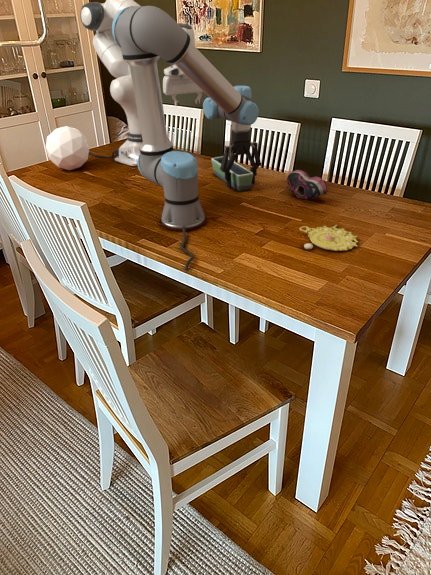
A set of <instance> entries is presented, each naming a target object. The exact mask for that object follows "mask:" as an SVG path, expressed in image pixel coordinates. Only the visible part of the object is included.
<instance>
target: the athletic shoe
mask: <svg viewBox="0 0 431 575" xmlns="http://www.w3.org/2000/svg"><path fill="white" fill-rule="evenodd" d="M286 184H287V186H288V187H285V186H284V189H286V190H290V191H291V193H292V194H293V195H295V196H296V198H298V199H300V200H306V201H310V200H313V199H316V198H318V197H321V196H324V195H328V185H327V183H326V181H325V180H324V179H323V178H322V177H320V176H312V177H311V176H309V174H308V172H306V171H305V170H302V169H294V170H293V171H291V172H290V173H289V174H288V175H287V177H286Z"/></svg>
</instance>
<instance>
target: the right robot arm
mask: <svg viewBox="0 0 431 575" xmlns="http://www.w3.org/2000/svg"><path fill="white" fill-rule="evenodd" d="M112 33H113V37H114V40H115V42H116V43H117V44H118V46H119V47H121V50H122V56H123V60H124V61H125V62H126V63H127V64H128V65H129V67H130V72H131V78H132V83H133V89H134V95H135V100H136V106H137V112H138V117H139V123H140V129H141V134H142V140H143V143H142V144H141V146H140V155H139V156H138V160H137V165H136V166H137V169H138V171H139V173H140V175H141V176H142V177H143V178H144V179H146V180H147V181H149V182H150V183H153V184H155V185H158V186H159V187H160V188H162V189H163V194H164V204H163V209H162V213H161V219H160V220H161V225H162V227H163V228H165V229H167V230H170V231H175V232H176V231H177V232H182V237H183V240H182V242H181V244H180V249H181V251H182V252H184V253H185V254H187V255H189V256H190V258H188V260H187V261H186V263H185V266H184V271H185V272H188V271H189V265H190V263H191V262H192V261H193V260H194V258H195V255H194V254H193V252H191V251H189V250H187V249H186V248H185V247H184V246H185V244H186V242H187V235H186V234H187V233H186V232H187V231H192V230H195V229H198V228H201V227H202V226H203V225H204V224H205V223H206V215H205V212H204V210H203V208H202V204H201V202H200V196H199V175H198V172H199V167H198V162H197V159H196V157H195V156H194V155H193V154H192V153H189V152H187V151H181V150H175V149H174V143H173V142H172V141H171V140H170V139H169V137H168V131H167V126H166V118H165V111H164V105H163V104H164V103H163V98H162V97H163V96H162V89H161V82H160V76H159V69H158V61H159V60H160V59H161V58H160V57H162V58H163V59H162V60H164V61H165V62H166V63H168V65H174V64H175V65H176V66H177V67H178V68H179V69H180V70H181V71H182V72H183V73H184V74H186V75H187V76H188V77H189V78H190V79H191V80H192V81H193V82H194V83H195V84H196V85H197V86H198V87H199V88H200V89H201V90H202V91H204V92H203V93H204V94H206V95H207V97H205V99H204V100H203V103H202V110H203V111H202V112H203V114H204V117H205V118H206V119H208V120H218V119H221V120H225V121H228V122H230V128H231V131H230V136H231V137H230V140H231V143H230V145H224V146H223V155H222V156H223V159H222V163H221V167H220V170H221V171H222V172H225V180H226V181H227V183H226V188H227V189H229V190H231V189H232V186H231V173H230V170H231V167H232V165H233V163H234V162H236V160H237V158H238V156H241V155H245V156H246V158H247V159H248V161H249V164H250V165H251V166H250V168H249V171H251V172H252V173H253V178H252V182H251V185H254V186H255V184H256V176H257V175H258V172H257V170H258V169H259V167H261V166H262V161H261V157H260V154H259V148H258V146H259V145H258V144H259V143H258V142H256V141H254V140H253V141H251V138H252V135H251V134H252V131H251V129H252V125H253V124H255V123H256V121H257V119H258V118H259V114H260V113H259V112H260V110H259V106H258V105H257V104H256V103H255V102H253V101H252V100H253V99H252V88H251V87H250V86H248V85H234V86H233V85H232V84H231V83H230V81H229V80H228V79H226V77H225V76H224V75H223V74H222V73H221V72H220V71H219V70H218V69H217V67H216V66H214V65H213V64H212V63H211V62H210V61H209V60H208V59H207V58H206V56H204V54H202V52H201V51H200V50H199V49H198V48H197V47H196V45H195V46H194V45H193V44H192V43H191V37H190V36H189V35H188V34H187V33H186V31H185V30H184V29H183V28H182V27H181V26H180V25H179V24H178V22H177V21H176V20H175V19H174V18H173V17H172V16H170V15H169V14H168V13H167V12H166V11H165V10H163V9H162V8H159V7H157V6H154V5H143V6H142V5H140V6H130V7H127V8H124V9H122V10H120V11H119V12H118V13H117V14H116V16H115V18H114V20H113V24H112ZM159 82H160V83H159ZM250 148H252V149H251V150H252V152H251V151H250ZM231 150H232V151H231ZM252 154H253V156H252ZM228 158H229V161H228ZM227 162H228V163H227Z"/></svg>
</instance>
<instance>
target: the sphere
mask: <svg viewBox="0 0 431 575" xmlns="http://www.w3.org/2000/svg"><path fill="white" fill-rule="evenodd" d="M44 148H45V152H46V154H47V158H48V160H49V161H51V162H52V163H53V164H54V165H55V167H57V168H60V169H63V170H66V171H72V170H75V169H79V168H81V167H82V166H83V165H84V164H85V163H87V161H88V160H89V155H90V154H89V152H90V147H89V142H88V139H87V137H86V136H85V135H84V133H82V132H81V131H80V130H79V129H78V128H74V127H72V126H67V125H65V126H61V127H57V128H54V129H53V131H52V132H50V133H49V135H47V136H46V141H45V146H44Z"/></svg>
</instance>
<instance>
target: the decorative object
mask: <svg viewBox="0 0 431 575" xmlns="http://www.w3.org/2000/svg"><path fill="white" fill-rule="evenodd" d="M303 228H304V229H305V230H304V229H303ZM299 231H300V232H303V233H305V234H307V237H308V238H309V240H310V241H311V243H304V244H303V248H304V249H305V250H313V249H314V245H315V246H316V247H318V248H321V249H324V250H328V251H335V252H341V251H348V250H352V249H354V247H356V248H358V247H359V245H358V244H357V243H359V240H357V238H359V237H358V235H353V234H352V231H347V230H346V229H345V228H344V227H342V228H338V224H335V225H333V226H331V227H328V226H327V225H326V224H325V225H323V226H322V227H321V226H317V227H316V228H314V227H309V226H308V225H302V226H300V227H299ZM313 244H314V245H313Z"/></svg>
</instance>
